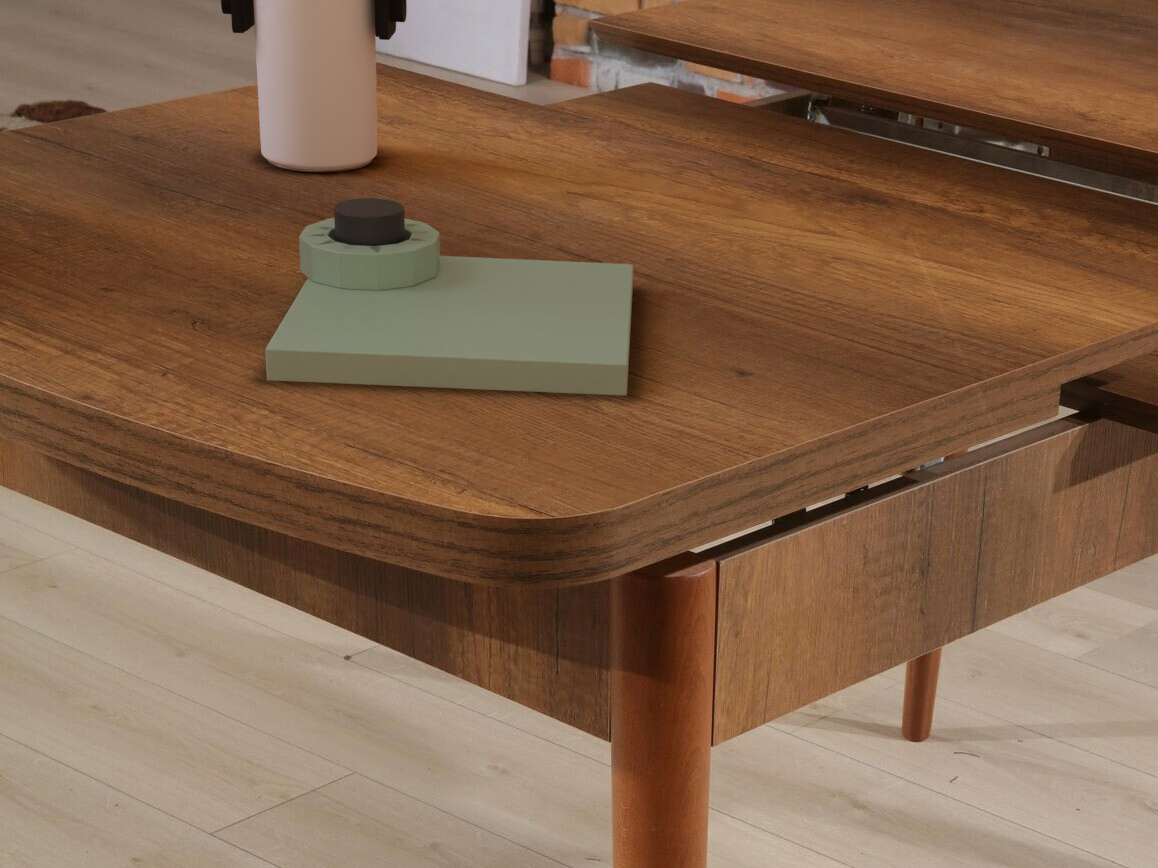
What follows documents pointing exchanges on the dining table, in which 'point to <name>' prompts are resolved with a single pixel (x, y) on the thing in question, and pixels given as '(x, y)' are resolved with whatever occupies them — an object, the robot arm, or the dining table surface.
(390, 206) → the button
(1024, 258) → the dining table surface
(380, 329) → the scale
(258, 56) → the can
